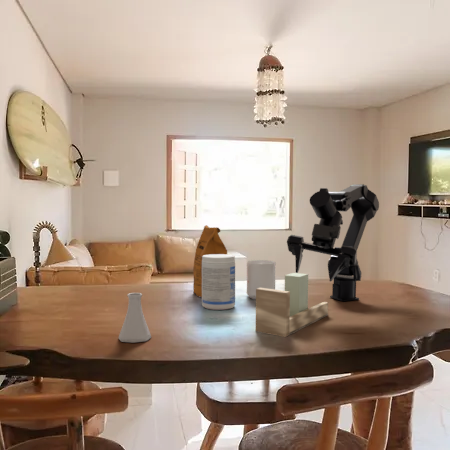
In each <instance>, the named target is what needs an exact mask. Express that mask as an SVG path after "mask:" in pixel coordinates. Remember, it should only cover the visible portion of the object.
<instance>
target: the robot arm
mask: <svg viewBox="0 0 450 450" xmlns="http://www.w3.org/2000/svg"><path fill="white" fill-rule="evenodd" d="M309 204H310V206H311V208H312V209H313V211H314V213H315V216H316V217H317V218H319V219H320V220H319V222H318V223H314V224H313V228H312V232H311V241H312V243H310V242H305V239H304V237H303V236H302V235H301V236H300V235H295V234H291V235H289V236H288V238H287V239H286V243H287V244H286V245H287V250H288V252H290V253H291V255H292V256H295V257H294V258H295V259H294V260H295V273H299V271H300V267H301V264H302V259H303V257H304V256H303V253H304V250H305V251H306V250H307V251H310V252H315V253H320V254H324V255H325V254H326V255H329V256H330V257H329V259H328V261H327V269H328V270H327V271H328V278H329V282H333V283H332V294H331V295H329V296H330V298H331V299H334V300H338V301H340V302H348V301H349V302H350V301H357V300H358V301H359V300H360V298H359V297H358V296H357V282H361V279H362V271H361V267H360V265H359V261H358V258H357V256H358V248H359V246H360V244H361V239H362V237H363V234H364V231H365V228H366V225H367V223H368V222H369V221H370V220H372V219H374V218H375V216H376V214H377V211H378V210H380V209H379V208H380V203H379V199H378V197H377V195H376V193H374V192H373V191H372V190H370V189H369V188H368V185H366V184H364V183H362V184H361V183H360V184H354V183H352V185H351V184H350V185H349V186H348V187H346V188H344V189H342V190H339V191H330V190H329V189H328V188H327V187H320V188H319V191H316V192H314V193H313V194H312V195H311V196H310V197H309ZM350 209H351V211H352V218H351V220H350V222H349V223H350V224H349V226H348V228H347V231H346V233H345V236H344V239H343V242H342V245H341V246H340V247H338V246H335V244H336V240H338V239H339V237H340V234H341V229H342V228H341V226H343V223H344V222H343V216H342V213H341V212H343V213H344V212H348V210H350Z"/></svg>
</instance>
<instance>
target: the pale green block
mask: <svg viewBox="0 0 450 450" xmlns="http://www.w3.org/2000/svg"><path fill="white" fill-rule="evenodd" d="M284 291H289V292H290V317H291V316H293V315H295V314H297V313H300V312H302V311H304V310H306V309H309V308H308V307H309V274H308V273H303V272H302V273H301V272H298V273H296V272H291V273H288V274H284Z"/></svg>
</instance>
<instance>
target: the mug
mask: <svg viewBox="0 0 450 450" xmlns="http://www.w3.org/2000/svg"><path fill="white" fill-rule="evenodd" d="M276 264H277V263H276V261H273V260H268V259H253V260H252V259H251V260H247V261H246V294H247V296H248V298H250V299H252V300H256V289H257V288H267V289H275V290H276Z"/></svg>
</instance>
